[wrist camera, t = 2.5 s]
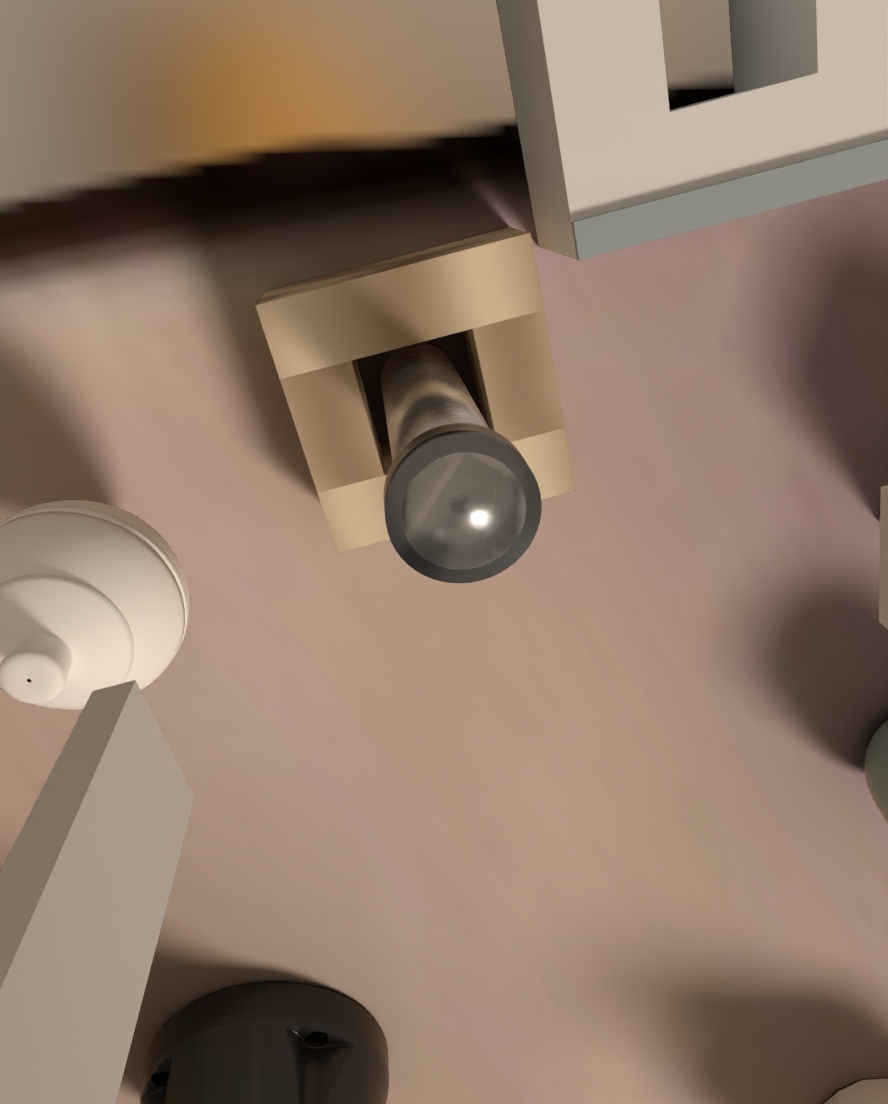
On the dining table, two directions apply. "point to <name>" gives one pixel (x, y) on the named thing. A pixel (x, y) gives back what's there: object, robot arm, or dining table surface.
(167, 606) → the spinning top
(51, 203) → the dining table surface
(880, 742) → the cup
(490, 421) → the mount
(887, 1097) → the vase
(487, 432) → the pin
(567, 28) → the socket
